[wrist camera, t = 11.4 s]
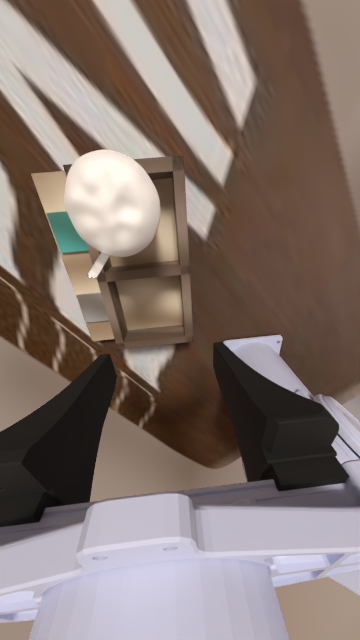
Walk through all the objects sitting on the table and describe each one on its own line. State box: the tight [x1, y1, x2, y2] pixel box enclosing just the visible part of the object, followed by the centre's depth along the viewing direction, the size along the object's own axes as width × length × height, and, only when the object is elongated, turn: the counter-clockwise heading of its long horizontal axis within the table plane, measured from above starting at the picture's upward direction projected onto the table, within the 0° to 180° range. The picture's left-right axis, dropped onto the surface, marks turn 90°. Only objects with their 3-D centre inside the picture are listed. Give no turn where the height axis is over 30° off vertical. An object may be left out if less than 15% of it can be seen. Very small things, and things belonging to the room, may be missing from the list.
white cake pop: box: [64, 150, 160, 279], centre depth 12 cm, size 4×5×10 cm
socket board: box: [31, 156, 193, 349], centre depth 18 cm, size 16×12×4 cm
